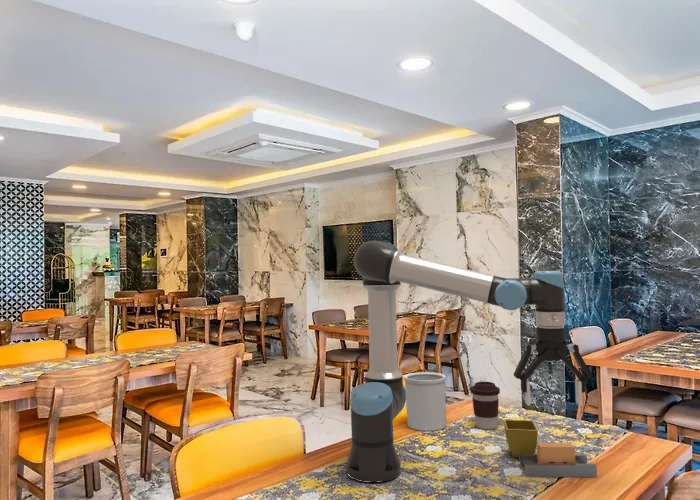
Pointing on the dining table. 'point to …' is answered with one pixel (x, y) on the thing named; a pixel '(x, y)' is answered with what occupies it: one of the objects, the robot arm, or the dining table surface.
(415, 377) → the utensil holder
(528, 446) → the flower pot
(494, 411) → the coffee cup
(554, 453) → the brown notched block
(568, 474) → the rail
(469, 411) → the dining table surface
